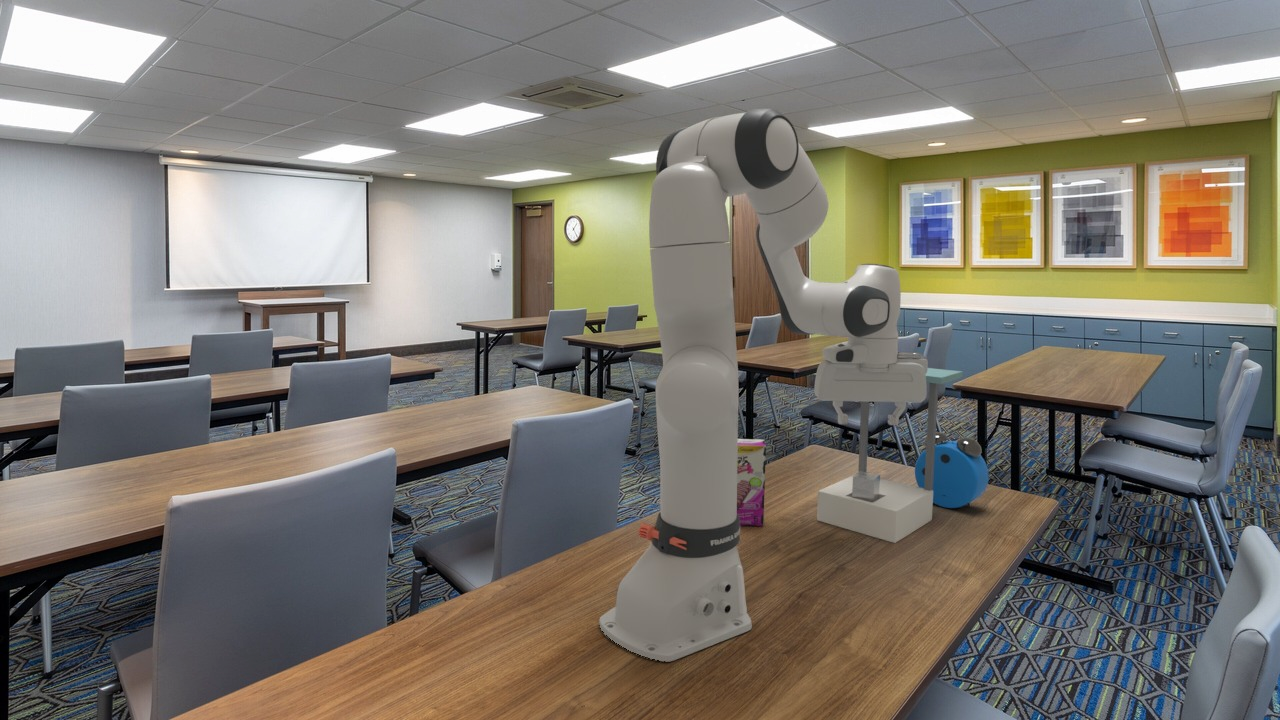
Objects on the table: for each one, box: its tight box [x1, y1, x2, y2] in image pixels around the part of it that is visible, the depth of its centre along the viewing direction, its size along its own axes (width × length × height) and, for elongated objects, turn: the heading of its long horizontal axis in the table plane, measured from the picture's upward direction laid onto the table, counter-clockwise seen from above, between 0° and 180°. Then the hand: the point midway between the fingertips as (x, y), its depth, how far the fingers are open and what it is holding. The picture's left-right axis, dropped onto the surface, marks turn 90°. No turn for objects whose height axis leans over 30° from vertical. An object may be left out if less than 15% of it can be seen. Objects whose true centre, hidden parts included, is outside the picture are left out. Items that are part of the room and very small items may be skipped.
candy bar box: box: [737, 438, 767, 527], centre depth 134 cm, size 11×5×16 cm, turn 84°
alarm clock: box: [914, 431, 990, 509], centre depth 142 cm, size 13×6×15 cm, turn 41°
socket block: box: [816, 367, 964, 544], centre depth 135 cm, size 22×20×29 cm
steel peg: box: [852, 471, 881, 503], centre depth 131 cm, size 4×4×9 cm
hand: (867, 424), depth 130 cm, fingers open, 8 cm apart
